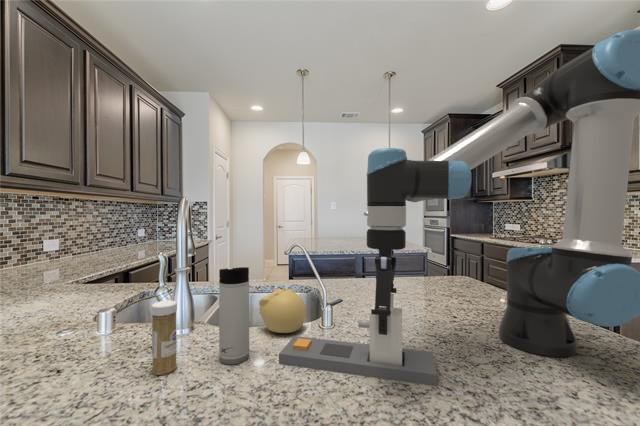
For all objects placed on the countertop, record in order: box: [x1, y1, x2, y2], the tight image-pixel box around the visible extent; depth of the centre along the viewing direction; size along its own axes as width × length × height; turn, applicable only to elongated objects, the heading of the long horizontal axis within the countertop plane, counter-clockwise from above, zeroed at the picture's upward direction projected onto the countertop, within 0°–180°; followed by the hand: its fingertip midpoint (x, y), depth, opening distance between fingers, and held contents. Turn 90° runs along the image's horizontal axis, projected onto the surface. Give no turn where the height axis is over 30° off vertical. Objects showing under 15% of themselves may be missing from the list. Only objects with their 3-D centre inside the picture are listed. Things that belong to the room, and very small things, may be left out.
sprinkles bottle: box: [150, 299, 178, 376], centre depth 60 cm, size 5×5×14 cm
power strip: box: [278, 335, 438, 387], centre depth 61 cm, size 30×9×4 cm, turn 74°
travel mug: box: [218, 266, 250, 365], centre depth 65 cm, size 6×7×20 cm
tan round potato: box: [258, 288, 307, 334], centre depth 81 cm, size 12×12×11 cm
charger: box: [357, 305, 403, 366], centre depth 59 cm, size 8×5×11 cm, turn 74°
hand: (385, 335), depth 59 cm, fingers open, 13 cm apart
